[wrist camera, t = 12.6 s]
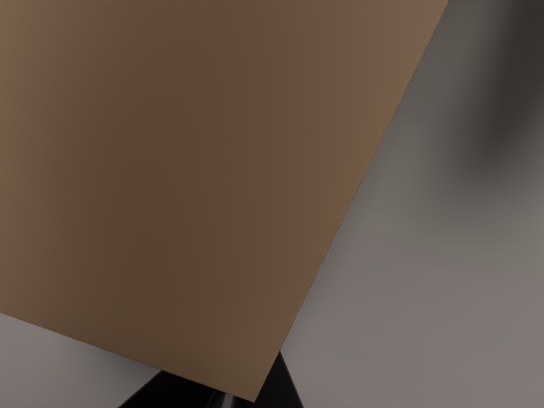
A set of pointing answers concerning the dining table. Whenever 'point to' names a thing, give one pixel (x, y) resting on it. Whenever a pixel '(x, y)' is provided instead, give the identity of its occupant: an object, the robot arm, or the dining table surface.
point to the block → (188, 165)
